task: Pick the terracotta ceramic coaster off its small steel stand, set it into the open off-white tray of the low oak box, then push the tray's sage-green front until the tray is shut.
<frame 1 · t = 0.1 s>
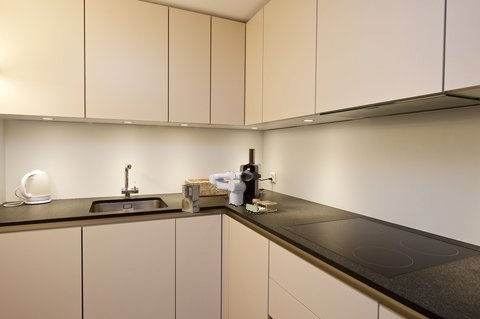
hand: (255, 176, 173), 22 cm above the worktop, tool horizontal, fingers open, 7 cm apart
housing: (266, 210, 175), on the worktop
coffee box: (190, 211, 169), on the worktop
stand: (256, 207, 183), on the worktop
coaster: (256, 202, 182), point 3 cm above the worktop, touching stand
tray: (257, 208, 170), point 2 cm above the worktop, slide at 7.0 cm
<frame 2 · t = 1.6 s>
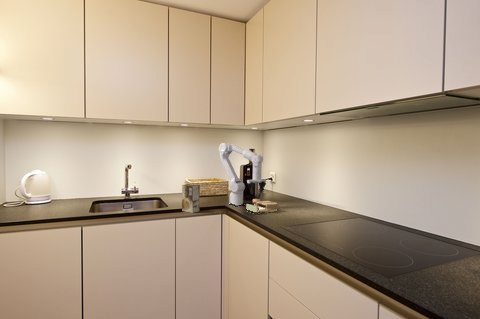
hand: (256, 193, 182), 9 cm above the worktop, tool pointing down, fingers open, 7 cm apart
nothing on the worktop moved.
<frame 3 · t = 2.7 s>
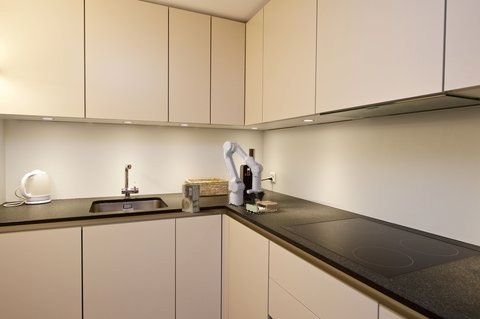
hand: (256, 203, 182), 3 cm above the worktop, tool pointing down, fingers closed on coaster, 5 cm apart
coaster: (256, 202, 182), point 3 cm above the worktop, touching gripper, stand
everything else where it was.
when the fingers open (3 cm above the worktop, at t = 6.3 s): coaster drops 2 cm, resting on tray.
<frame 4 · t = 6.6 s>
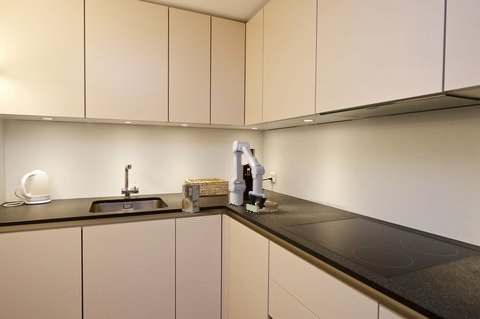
hand: (257, 207, 170), 3 cm above the worktop, tool pointing down, fingers open, 7 cm apart
coaster: (257, 210, 170), point 1 cm above the worktop, touching tray
tray: (257, 208, 170), point 2 cm above the worktop, slide at 7.0 cm, touching coaster
everything else where it was.
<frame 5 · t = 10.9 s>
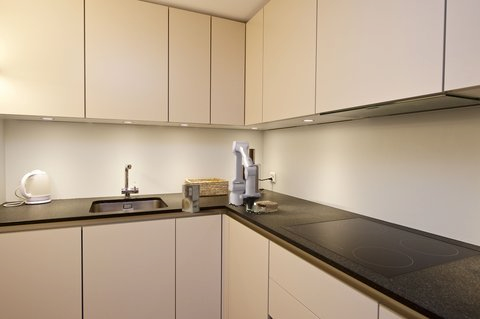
hand: (249, 209, 167), 2 cm above the worktop, tool pointing down, fingers closed
tray: (257, 208, 170), point 2 cm above the worktop, slide at 6.8 cm, touching coaster, gripper
everything else where it was.
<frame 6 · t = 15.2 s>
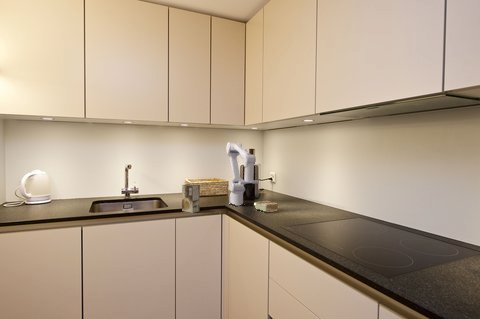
hand: (248, 195, 174), 9 cm above the worktop, tool pointing down, fingers closed
coaster: (265, 208, 174), point 1 cm above the worktop, touching tray
tray: (265, 207, 174), point 2 cm above the worktop, slide at 0.0 cm, touching coaster, housing
everything else where it was.
at the end: tray slide at 0.0 cm; coaster inside the target area on the housing (0.7 cm from its centre), point 1.2 cm above the housing's base; the gripper is holding nothing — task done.
